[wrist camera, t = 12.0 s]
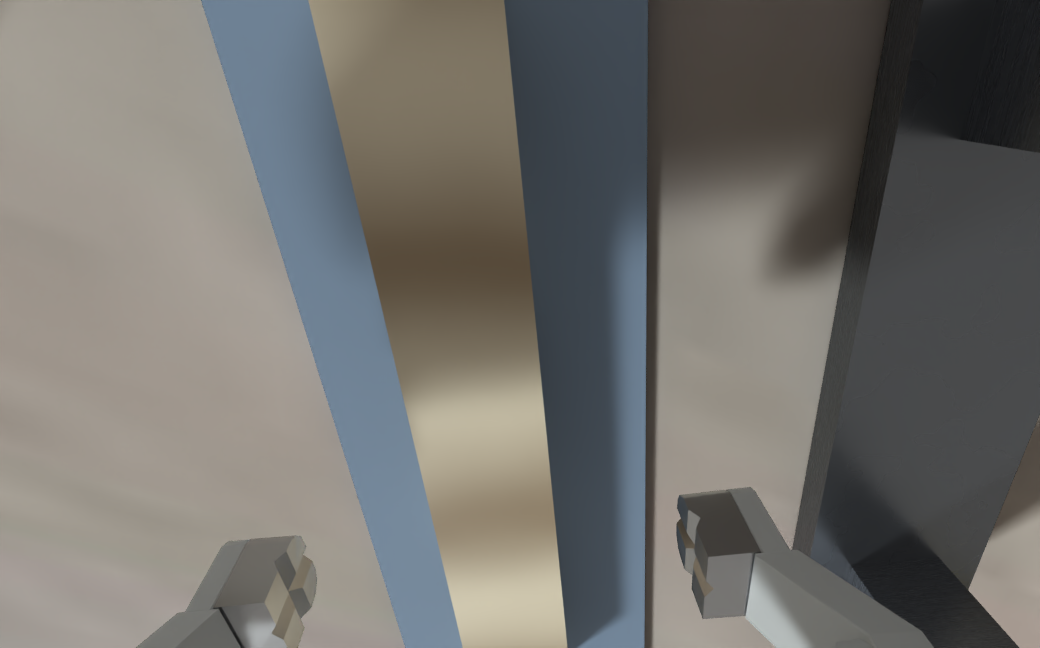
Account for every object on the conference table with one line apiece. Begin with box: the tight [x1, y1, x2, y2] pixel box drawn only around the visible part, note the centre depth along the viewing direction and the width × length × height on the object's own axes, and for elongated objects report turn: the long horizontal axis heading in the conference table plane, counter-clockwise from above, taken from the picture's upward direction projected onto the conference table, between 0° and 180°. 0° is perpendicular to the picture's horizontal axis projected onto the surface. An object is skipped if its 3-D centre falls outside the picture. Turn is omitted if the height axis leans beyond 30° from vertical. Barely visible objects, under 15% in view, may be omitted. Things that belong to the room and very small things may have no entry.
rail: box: [308, 0, 567, 648], centre depth 14 cm, size 22×3×3 cm, turn 6°
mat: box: [201, 0, 648, 648], centre depth 16 cm, size 26×9×1 cm, turn 6°
